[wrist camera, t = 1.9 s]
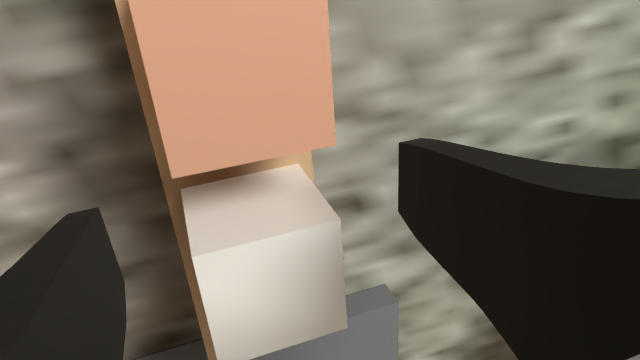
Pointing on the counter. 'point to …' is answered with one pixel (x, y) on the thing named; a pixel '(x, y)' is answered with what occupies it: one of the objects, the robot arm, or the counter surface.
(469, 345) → the counter surface
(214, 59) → the terracotta crate
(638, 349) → the robot arm
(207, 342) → the pallet
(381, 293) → the dock
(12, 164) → the counter surface
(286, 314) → the block
